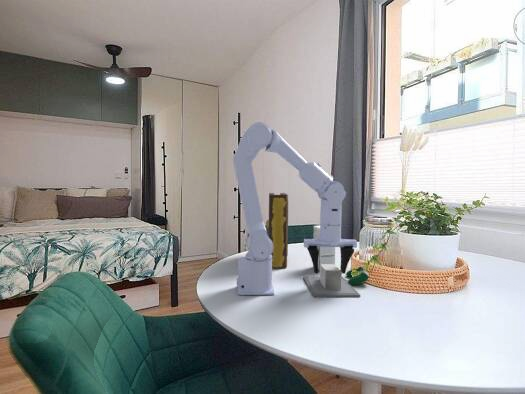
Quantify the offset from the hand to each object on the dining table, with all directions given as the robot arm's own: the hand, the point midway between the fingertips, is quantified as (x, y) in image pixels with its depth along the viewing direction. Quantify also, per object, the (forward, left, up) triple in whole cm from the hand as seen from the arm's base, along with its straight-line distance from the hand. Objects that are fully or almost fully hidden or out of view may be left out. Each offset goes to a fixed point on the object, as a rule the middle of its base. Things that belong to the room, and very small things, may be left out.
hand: (329, 272), depth 84 cm
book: (-12, +29, -4) cm, 32 cm away
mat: (0, 0, -4) cm, 4 cm away
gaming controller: (+10, +5, -5) cm, 12 cm away
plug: (0, +1, -3) cm, 4 cm away
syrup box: (+3, +18, -4) cm, 19 cm away
